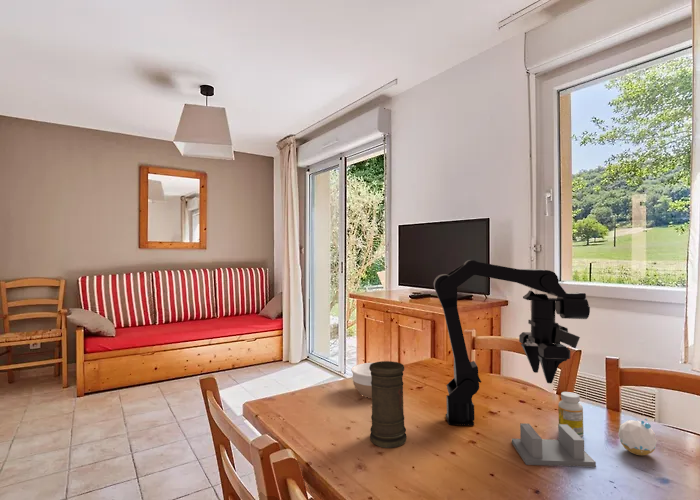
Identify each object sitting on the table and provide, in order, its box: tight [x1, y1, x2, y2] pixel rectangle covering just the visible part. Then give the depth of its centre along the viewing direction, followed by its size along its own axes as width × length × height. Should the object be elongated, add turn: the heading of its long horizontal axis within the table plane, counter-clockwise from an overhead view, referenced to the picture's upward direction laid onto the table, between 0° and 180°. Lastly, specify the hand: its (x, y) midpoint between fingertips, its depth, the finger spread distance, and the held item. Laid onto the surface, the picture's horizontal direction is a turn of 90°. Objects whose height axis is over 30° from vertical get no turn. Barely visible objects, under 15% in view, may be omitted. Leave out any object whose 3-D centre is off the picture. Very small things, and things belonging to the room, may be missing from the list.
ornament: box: [617, 418, 657, 456], centre depth 89 cm, size 7×7×8 cm
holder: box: [511, 423, 597, 468], centre depth 89 cm, size 14×10×5 cm
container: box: [369, 360, 408, 449], centre depth 98 cm, size 9×9×18 cm
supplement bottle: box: [558, 391, 584, 438], centre depth 99 cm, size 5×5×10 cm
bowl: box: [351, 362, 373, 399], centre depth 131 cm, size 16×16×8 cm
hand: (542, 377), depth 104 cm, fingers open, 9 cm apart
